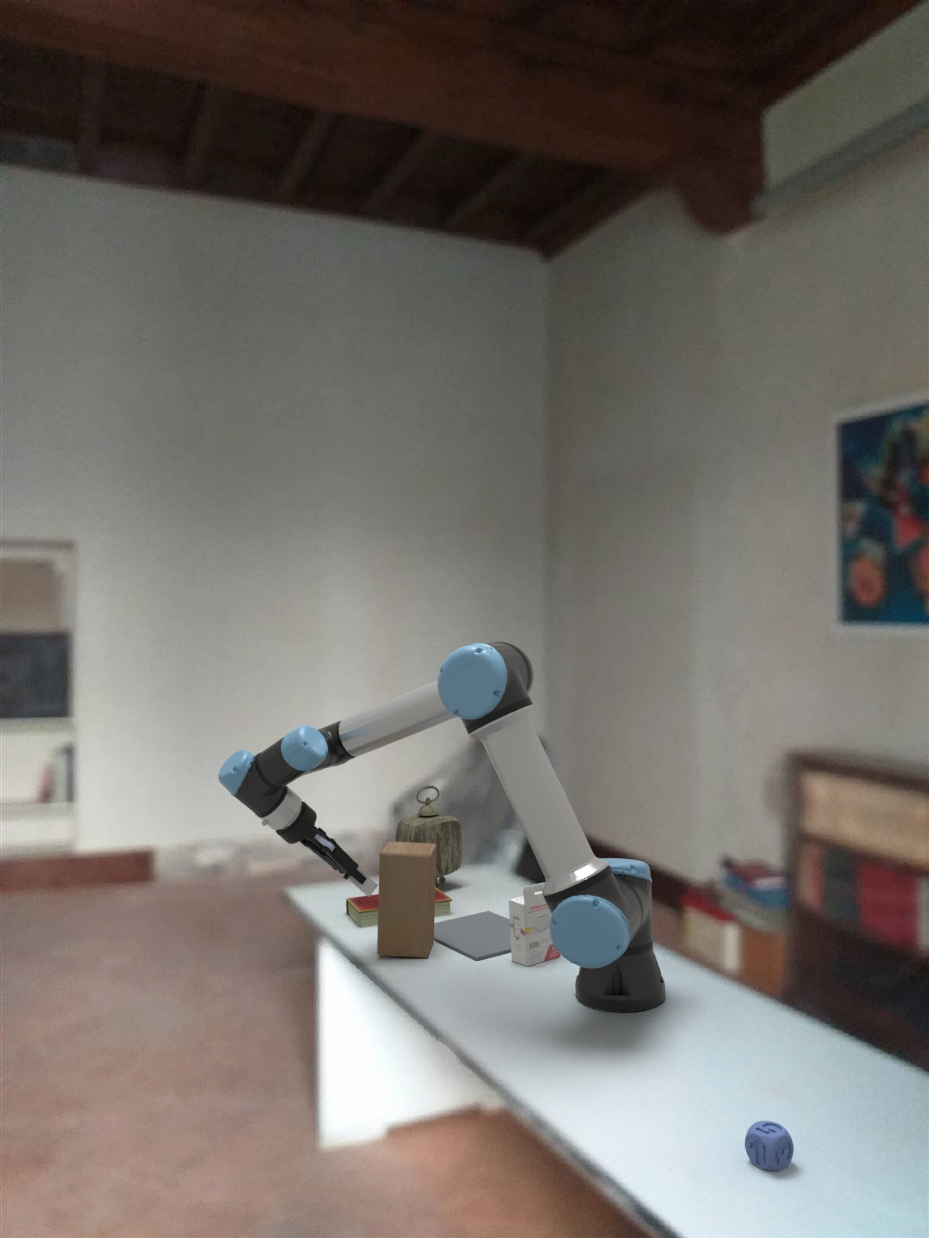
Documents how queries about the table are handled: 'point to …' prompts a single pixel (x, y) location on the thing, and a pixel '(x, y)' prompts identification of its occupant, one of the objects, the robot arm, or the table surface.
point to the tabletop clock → (434, 835)
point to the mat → (475, 935)
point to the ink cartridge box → (531, 928)
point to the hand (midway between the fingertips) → (372, 890)
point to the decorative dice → (769, 1146)
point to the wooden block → (406, 899)
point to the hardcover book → (367, 908)
